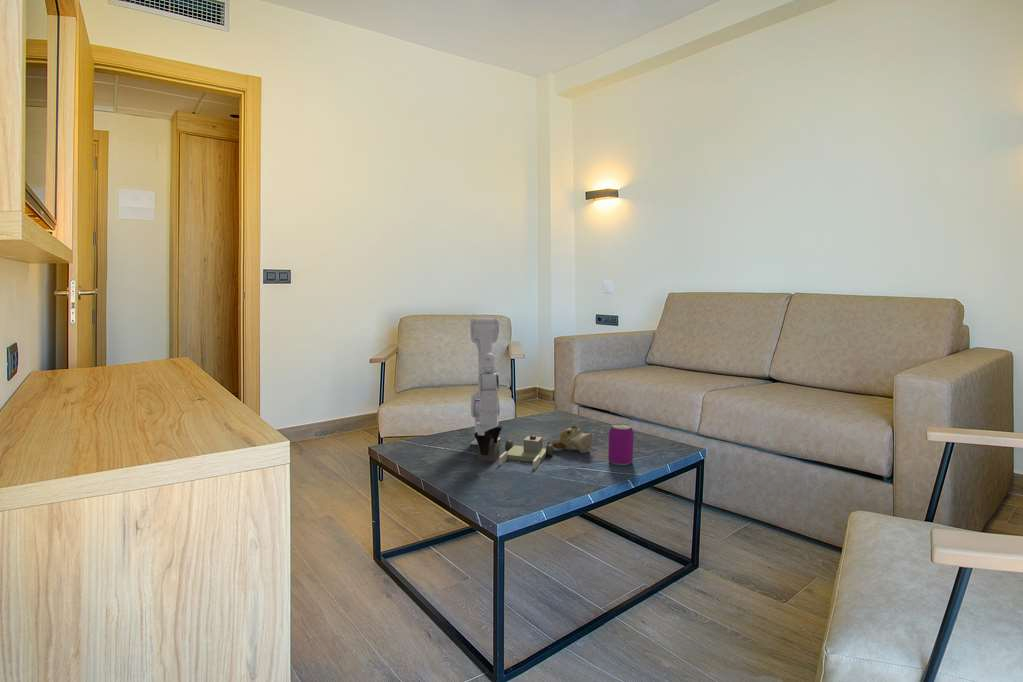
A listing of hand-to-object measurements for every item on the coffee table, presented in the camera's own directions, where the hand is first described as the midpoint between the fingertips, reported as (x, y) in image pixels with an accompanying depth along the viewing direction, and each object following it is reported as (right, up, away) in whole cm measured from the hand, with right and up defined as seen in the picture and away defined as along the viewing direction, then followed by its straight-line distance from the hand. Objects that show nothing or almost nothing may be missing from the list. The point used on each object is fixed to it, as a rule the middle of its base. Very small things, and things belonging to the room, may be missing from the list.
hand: (488, 451), depth 184 cm
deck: (+11, -3, 0) cm, 12 cm away
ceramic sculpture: (+28, -2, +10) cm, 30 cm away
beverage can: (+42, -3, -2) cm, 42 cm away
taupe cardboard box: (0, -3, 0) cm, 3 cm away
